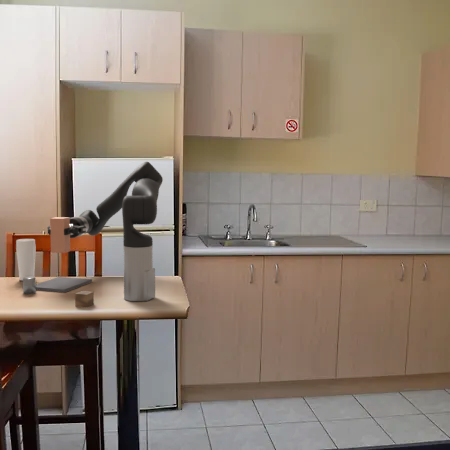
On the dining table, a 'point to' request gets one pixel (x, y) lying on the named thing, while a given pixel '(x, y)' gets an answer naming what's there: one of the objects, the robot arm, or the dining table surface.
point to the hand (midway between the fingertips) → (57, 232)
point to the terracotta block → (59, 234)
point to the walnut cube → (84, 299)
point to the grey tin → (29, 285)
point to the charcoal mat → (62, 284)
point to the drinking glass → (26, 257)
